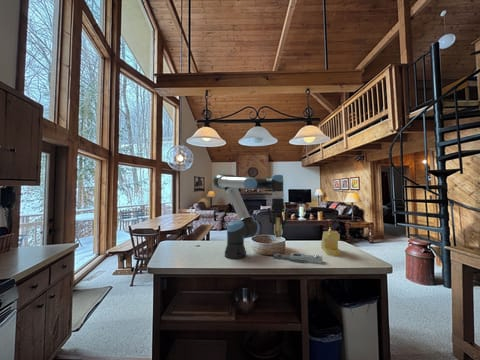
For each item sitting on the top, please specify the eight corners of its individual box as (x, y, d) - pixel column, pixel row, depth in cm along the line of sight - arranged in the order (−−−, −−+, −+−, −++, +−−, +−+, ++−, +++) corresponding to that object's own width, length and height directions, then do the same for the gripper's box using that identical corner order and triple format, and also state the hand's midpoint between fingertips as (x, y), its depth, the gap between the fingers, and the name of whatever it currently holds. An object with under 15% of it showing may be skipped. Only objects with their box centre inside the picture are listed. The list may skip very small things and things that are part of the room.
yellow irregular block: (341, 256, 149) (341, 233, 150) (327, 256, 150) (327, 232, 151) (333, 248, 169) (333, 228, 169) (321, 248, 170) (321, 227, 171)
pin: (275, 237, 140) (274, 218, 141) (276, 236, 144) (276, 217, 144) (280, 237, 139) (280, 218, 140) (281, 236, 142) (281, 218, 143)
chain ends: (272, 258, 144) (272, 253, 144) (275, 255, 152) (275, 249, 152) (322, 264, 132) (322, 258, 132) (322, 260, 140) (322, 254, 140)
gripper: (264, 198, 142) (264, 234, 141) (289, 198, 136) (290, 236, 135) (267, 198, 149) (267, 232, 148) (291, 198, 143) (292, 234, 142)
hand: (278, 234), depth 141 cm, fingers closed on pin, 3 cm apart
